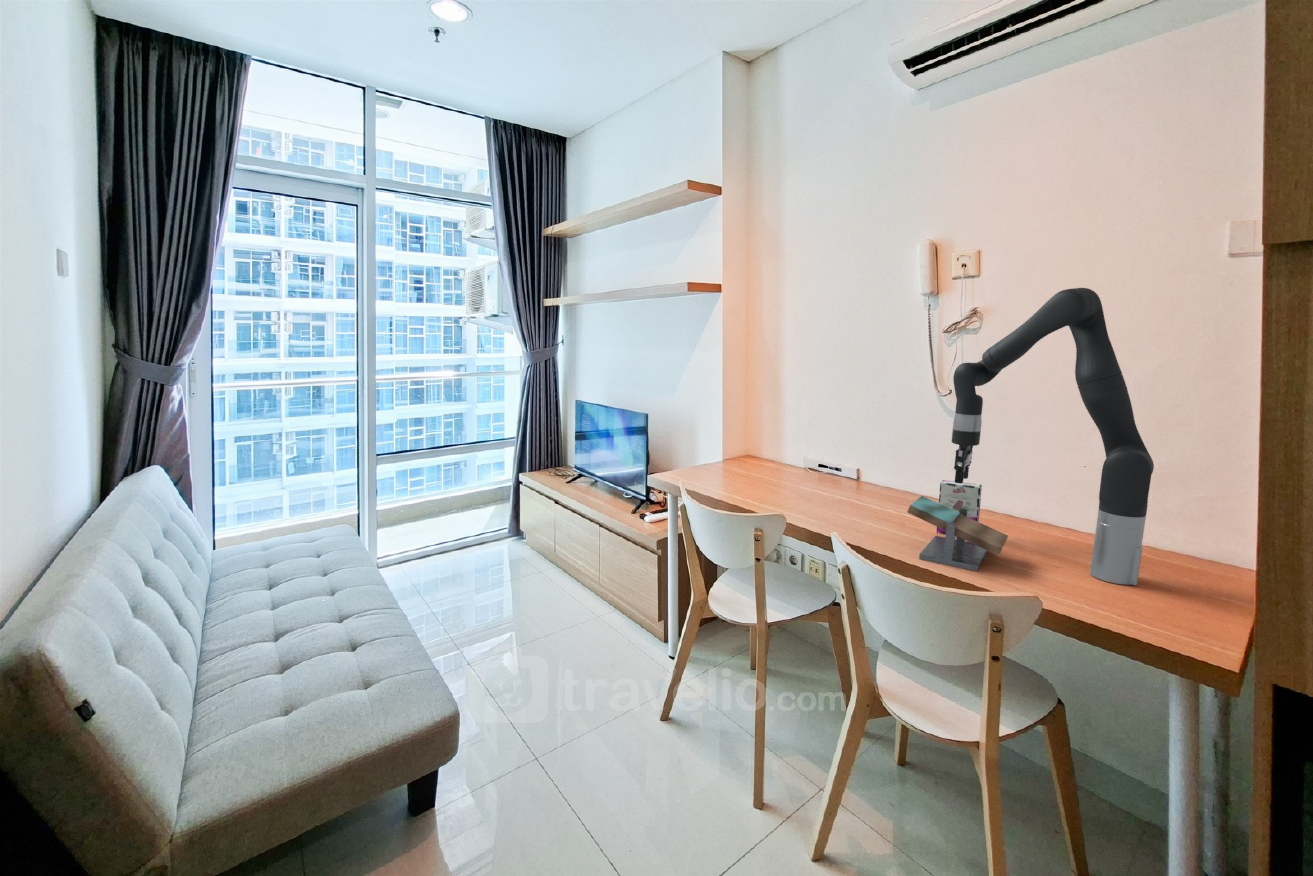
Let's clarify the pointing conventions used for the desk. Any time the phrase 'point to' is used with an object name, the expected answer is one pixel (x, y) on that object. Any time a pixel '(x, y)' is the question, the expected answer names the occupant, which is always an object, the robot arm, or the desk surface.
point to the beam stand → (954, 549)
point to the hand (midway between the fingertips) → (961, 480)
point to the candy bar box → (960, 498)
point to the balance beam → (959, 524)
